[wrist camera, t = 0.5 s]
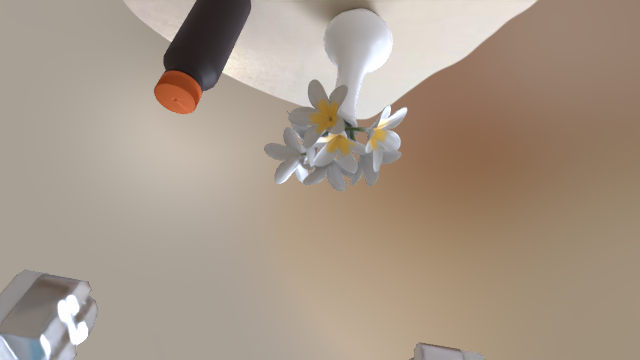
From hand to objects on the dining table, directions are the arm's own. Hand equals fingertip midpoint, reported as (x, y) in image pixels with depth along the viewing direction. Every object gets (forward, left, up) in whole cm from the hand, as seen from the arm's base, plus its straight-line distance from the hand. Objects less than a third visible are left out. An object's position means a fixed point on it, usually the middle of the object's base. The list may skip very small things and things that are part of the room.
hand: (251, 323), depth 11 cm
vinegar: (+32, +7, -50) cm, 59 cm away
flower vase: (+19, +21, -50) cm, 57 cm away
